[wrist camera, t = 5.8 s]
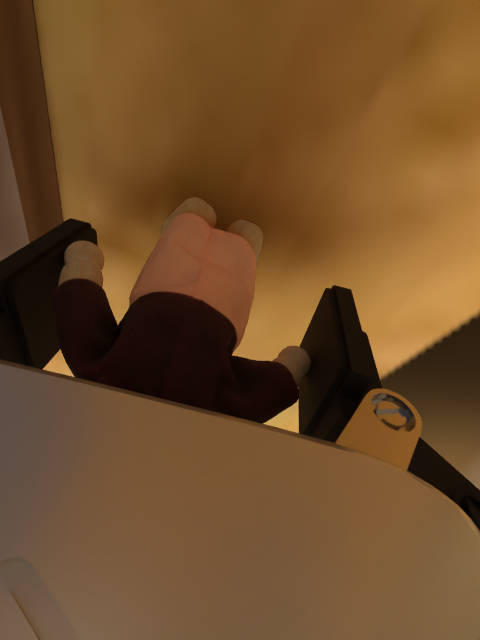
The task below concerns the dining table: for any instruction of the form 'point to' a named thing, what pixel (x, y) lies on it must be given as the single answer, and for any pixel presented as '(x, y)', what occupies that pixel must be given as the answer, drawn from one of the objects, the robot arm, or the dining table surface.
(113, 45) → the dining table surface
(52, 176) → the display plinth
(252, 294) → the grandmother figurine
